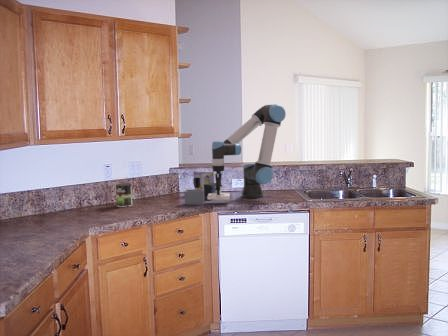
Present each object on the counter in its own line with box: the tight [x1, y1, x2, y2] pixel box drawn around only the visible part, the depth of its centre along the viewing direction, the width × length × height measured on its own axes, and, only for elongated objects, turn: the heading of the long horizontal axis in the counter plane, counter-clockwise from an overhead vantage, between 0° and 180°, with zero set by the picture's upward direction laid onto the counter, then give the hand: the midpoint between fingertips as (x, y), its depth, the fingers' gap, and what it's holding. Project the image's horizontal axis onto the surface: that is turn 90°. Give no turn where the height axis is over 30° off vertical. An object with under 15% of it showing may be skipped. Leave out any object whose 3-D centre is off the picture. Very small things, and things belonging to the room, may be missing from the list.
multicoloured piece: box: [115, 183, 133, 208], centre depth 315 cm, size 10×10×14 cm
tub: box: [184, 188, 206, 206], centre depth 314 cm, size 12×8×9 cm, turn 88°
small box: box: [204, 182, 216, 201], centre depth 334 cm, size 11×6×10 cm, turn 143°
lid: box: [206, 192, 231, 200], centre depth 314 cm, size 14×12×3 cm
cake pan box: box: [192, 169, 215, 189], centre depth 352 cm, size 19×5×18 cm, turn 43°
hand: (218, 198), depth 314 cm, fingers closed on lid, 12 cm apart
